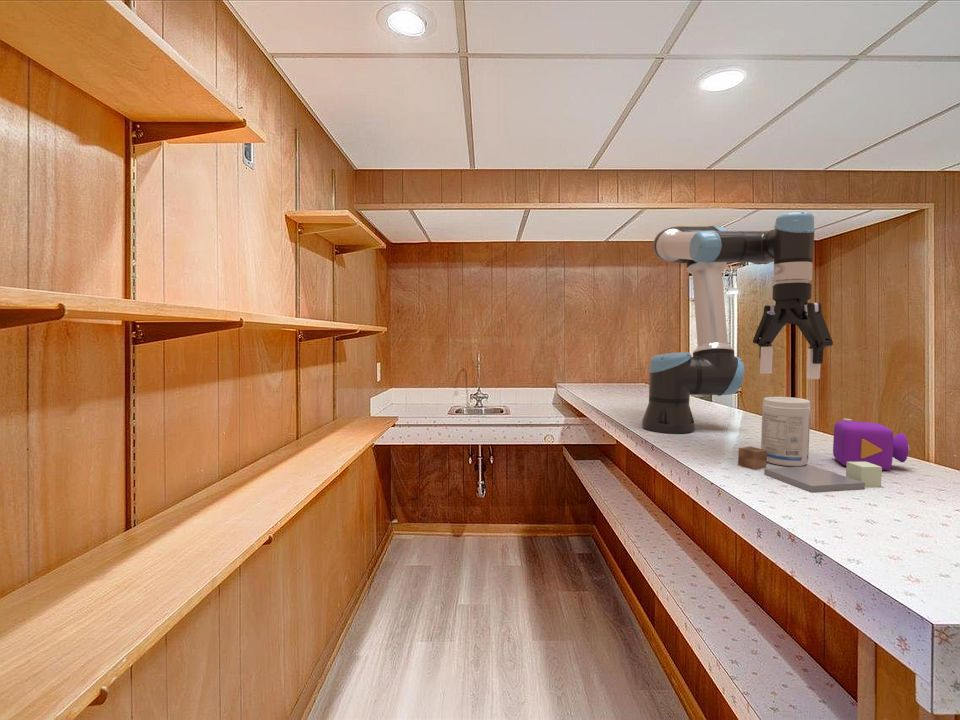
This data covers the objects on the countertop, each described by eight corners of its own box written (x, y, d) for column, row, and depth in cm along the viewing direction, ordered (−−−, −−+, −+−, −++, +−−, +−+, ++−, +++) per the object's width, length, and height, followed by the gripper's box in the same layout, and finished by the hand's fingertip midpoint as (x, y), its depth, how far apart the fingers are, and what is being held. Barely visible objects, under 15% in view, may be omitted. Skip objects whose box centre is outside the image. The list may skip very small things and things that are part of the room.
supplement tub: (774, 454, 124) (776, 395, 123) (816, 463, 116) (819, 400, 115) (751, 460, 119) (754, 398, 118) (794, 469, 111) (797, 403, 110)
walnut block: (738, 465, 114) (738, 448, 114) (749, 463, 116) (750, 446, 116) (754, 470, 111) (755, 452, 110) (766, 467, 112) (767, 450, 112)
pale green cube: (845, 480, 103) (846, 461, 103) (865, 480, 103) (866, 461, 103) (860, 487, 99) (861, 467, 99) (880, 487, 99) (882, 467, 99)
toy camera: (919, 474, 108) (922, 428, 107) (847, 470, 111) (849, 425, 110) (889, 461, 119) (891, 419, 118) (824, 458, 121) (826, 416, 121)
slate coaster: (764, 474, 107) (764, 468, 107) (812, 471, 109) (812, 466, 109) (811, 492, 95) (811, 486, 95) (864, 488, 98) (864, 482, 98)
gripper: (739, 287, 126) (736, 371, 127) (825, 276, 102) (820, 381, 103) (765, 287, 128) (762, 371, 129) (856, 277, 103) (851, 381, 104)
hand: (788, 376), depth 116 cm, fingers open, 13 cm apart
